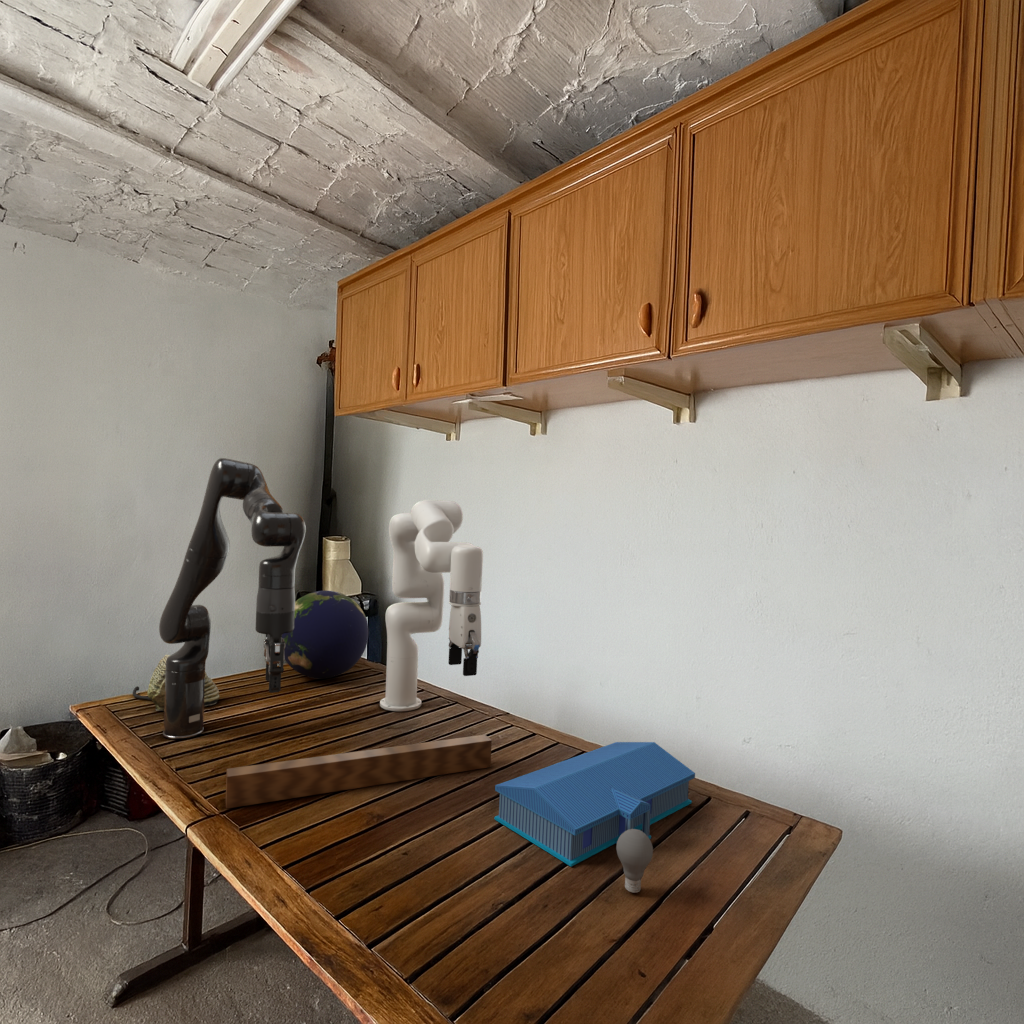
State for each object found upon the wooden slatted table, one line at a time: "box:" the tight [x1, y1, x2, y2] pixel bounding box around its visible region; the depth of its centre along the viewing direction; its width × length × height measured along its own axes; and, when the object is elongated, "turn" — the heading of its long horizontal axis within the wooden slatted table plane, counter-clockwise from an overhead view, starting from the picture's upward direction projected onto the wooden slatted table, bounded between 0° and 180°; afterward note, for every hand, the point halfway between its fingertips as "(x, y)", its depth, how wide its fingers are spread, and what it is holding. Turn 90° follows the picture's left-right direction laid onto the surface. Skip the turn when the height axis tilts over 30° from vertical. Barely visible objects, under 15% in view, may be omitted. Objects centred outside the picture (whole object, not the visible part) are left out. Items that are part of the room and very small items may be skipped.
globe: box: [282, 590, 369, 680], centre depth 219 cm, size 30×30×30 cm
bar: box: [225, 734, 493, 810], centre depth 141 cm, size 58×4×6 cm, turn 116°
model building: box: [493, 741, 696, 868], centre depth 132 cm, size 39×24×10 cm, turn 132°
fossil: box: [147, 654, 221, 712], centre depth 185 cm, size 9×18×15 cm, turn 132°
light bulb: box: [615, 829, 654, 894], centre depth 106 cm, size 6×6×10 cm
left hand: (272, 686), depth 132 cm, fingers open, 8 cm apart
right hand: (462, 669), depth 150 cm, fingers open, 9 cm apart
